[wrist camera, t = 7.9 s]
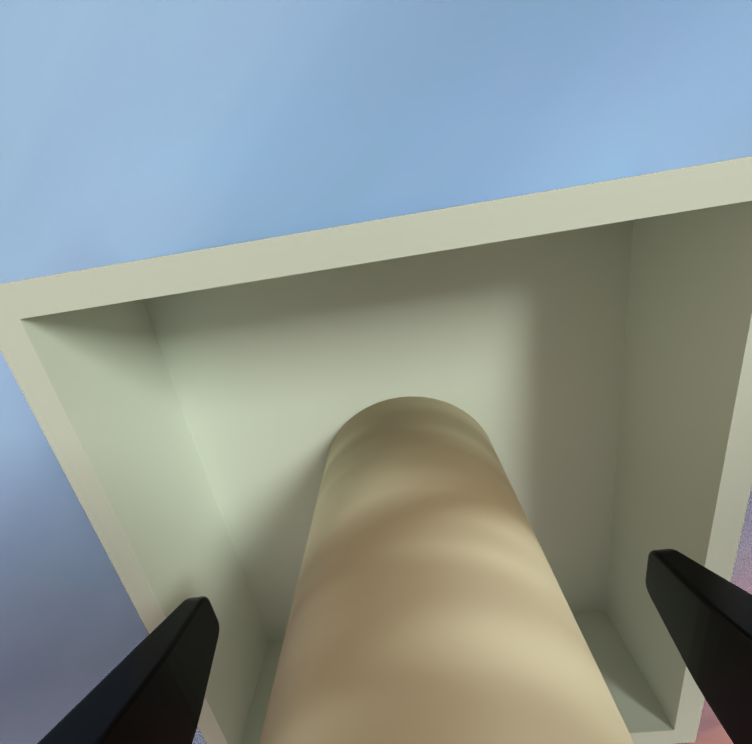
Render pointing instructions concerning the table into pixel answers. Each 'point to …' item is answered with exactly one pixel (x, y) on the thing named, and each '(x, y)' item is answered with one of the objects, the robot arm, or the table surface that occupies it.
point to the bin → (421, 379)
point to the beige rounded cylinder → (430, 601)
